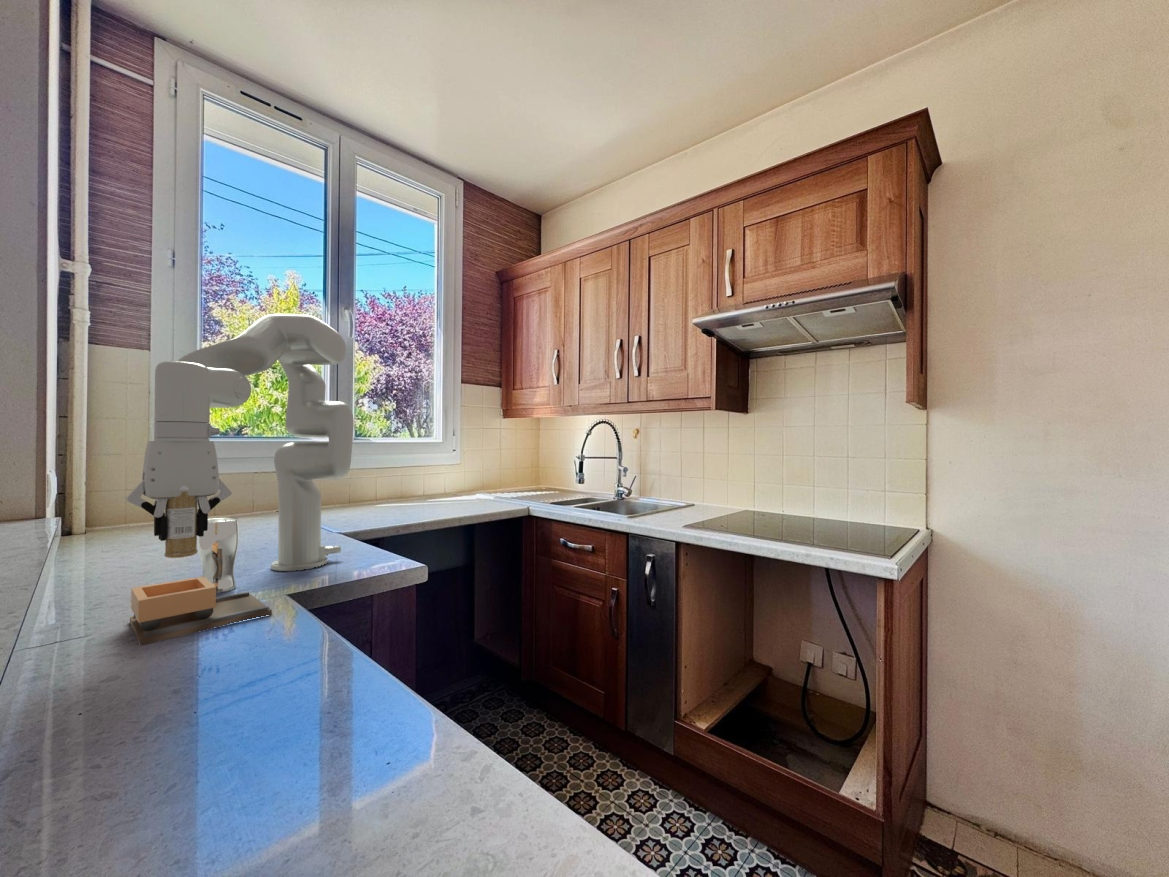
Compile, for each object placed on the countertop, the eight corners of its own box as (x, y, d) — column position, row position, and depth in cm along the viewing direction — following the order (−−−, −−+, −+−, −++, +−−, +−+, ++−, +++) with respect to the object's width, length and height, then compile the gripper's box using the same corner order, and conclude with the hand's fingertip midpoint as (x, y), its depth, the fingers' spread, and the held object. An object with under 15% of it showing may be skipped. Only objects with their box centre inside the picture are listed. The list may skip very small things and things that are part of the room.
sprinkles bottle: (199, 551, 89) (200, 477, 89) (194, 556, 85) (195, 479, 85) (167, 554, 87) (168, 478, 87) (160, 559, 83) (161, 479, 83)
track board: (250, 598, 100) (250, 590, 100) (271, 615, 90) (271, 606, 90) (129, 622, 86) (129, 613, 86) (140, 645, 77) (140, 635, 77)
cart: (203, 604, 92) (203, 576, 92) (215, 617, 86) (215, 587, 86) (131, 618, 85) (131, 587, 85) (138, 633, 78) (138, 600, 78)
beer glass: (222, 595, 102) (222, 522, 102) (189, 594, 102) (189, 522, 102) (245, 585, 109) (246, 517, 109) (214, 585, 109) (215, 517, 109)
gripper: (234, 434, 95) (233, 529, 95) (114, 432, 83) (112, 541, 82) (245, 433, 90) (244, 533, 90) (118, 431, 77) (117, 548, 77)
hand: (181, 536), depth 86 cm, fingers closed on sprinkles bottle, 4 cm apart
